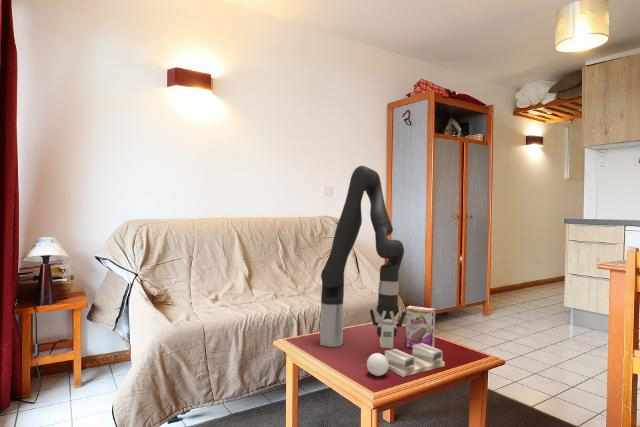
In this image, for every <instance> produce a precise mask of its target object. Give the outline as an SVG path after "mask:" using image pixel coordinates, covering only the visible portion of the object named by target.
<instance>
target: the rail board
mask: <svg viewBox="0 0 640 427" xmlns="http://www.w3.org/2000/svg"><path fill="white" fill-rule="evenodd" d="M411 352H412V354H408V353H406V352H404V351H401V350H399V349H397V348H391V349H388V350H384V356H385V357H386V358H387V361H388V370H389V371H391V372H392V373H394V374H396V375H399V376H401V377H402V378H404V377H405V378H406V377H407V376H412V375H416V374H419V373H424V372H427V371H432V370H436V369H439V368H443V367H445V366H446V362H445V361H443V350H441V349H439V348H436V347H435V346H434V347H431V346H429V345H426V344H424V343H420V344H415V345H413V348H412V351H411Z"/></svg>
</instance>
